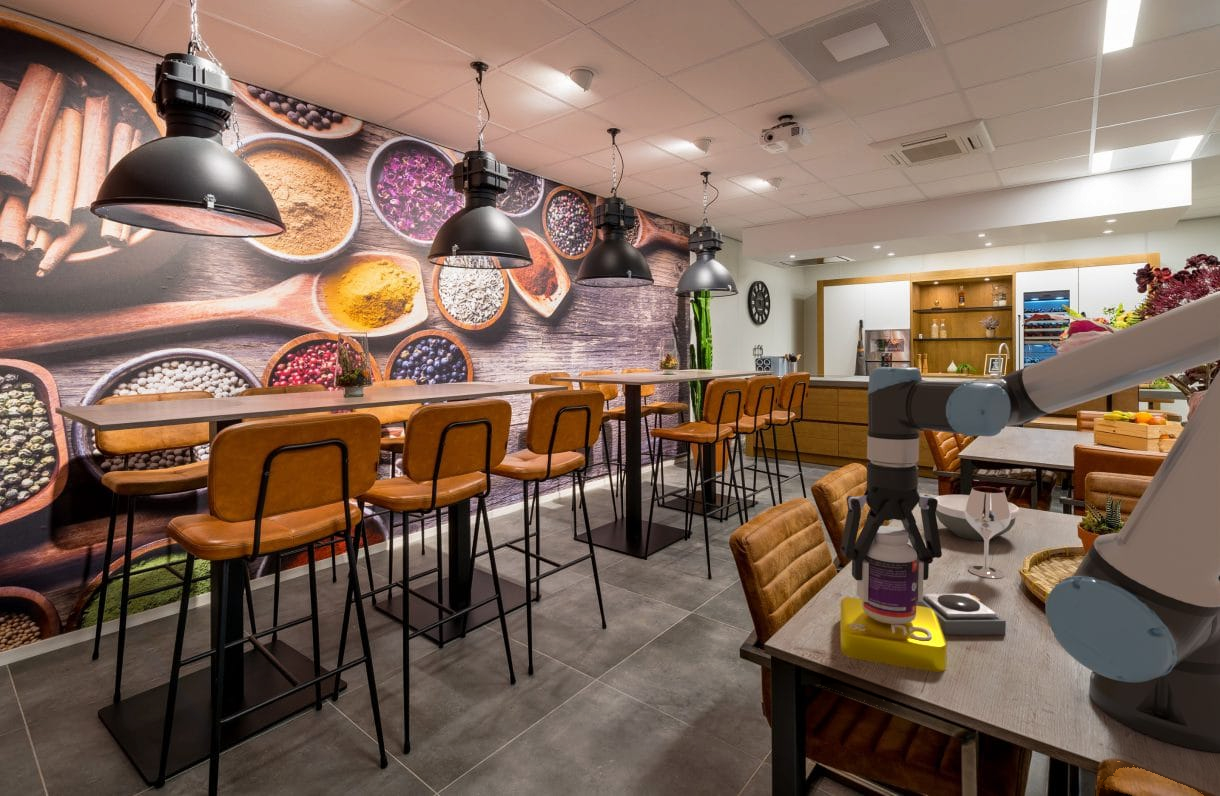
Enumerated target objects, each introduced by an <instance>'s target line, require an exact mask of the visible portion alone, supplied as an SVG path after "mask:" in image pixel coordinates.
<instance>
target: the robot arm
mask: <svg viewBox="0 0 1220 796" xmlns="http://www.w3.org/2000/svg"><path fill="white" fill-rule="evenodd" d="M1217 361H1220V290H1218V291H1216V292H1214V293H1211V294H1208V295H1205V296H1203V297H1200V298H1198V299H1195V300H1193V301H1191V302H1188V303H1185V304H1182V305H1181V306H1178V307H1175V308H1172V309H1169V310H1167V311H1165V312H1163V313H1160V314H1157V315H1155V316H1152V317H1150V318H1147V319H1144V320H1143V321H1142V320H1141V321H1140V322H1137V323H1134V324H1132V325H1130V326H1127V327H1123V328H1121V329H1119V330H1117V331H1115V332H1112V333H1109V334H1106V335H1104V336H1102V337H1098V338H1096V339H1095V340H1092V341H1089V342H1087V343H1084V344H1081V345H1078V346H1076V347H1073V348H1071V349H1068V350H1066V351H1062V352H1061V353H1059V354H1055V355H1054V356H1051V357H1048V358H1045V359H1043V360H1040V361H1037V362H1035V363H1034V364H1033V363H1032V364H1030V365H1028V366H1025V367H1024V368H1021V369H1018V370H1014V371H1013V372H1010V373H1008V374H1004V375H1003V376H1000V377H996V378H988V379H985V378H984V379H977V380H976V379H975V380H966V381H965V380H964V381H962V380H961V381H939V380H938V381H932V380H931V381H929V380H923V377H922V373H921V370H920V369H919V368H918V367H914V366H913V367H912V366H910V367H909V366H880V367H879V366H878V367H875V368H873V369H872V370H871V371H870V373H869V375H868V388H867V389H868V390H867V393H866V396H867V419H868V420H867V421H868V422H867V424H868V425H867V426H868V427H867V428H868V429H867V435H866V437H867V438H866V439H867V440H866V441H867V442H866V443H867V444H866V445H867V446H866V458H867V459H868V460H869V461H868V462H867V463H866V489H865V491H864V494H863V495H860V496H859V495H858V496H852V495H848V496H847V497H846V505H847V513H846V519H845V522H844V523H845V524H844V530H843V533H842V538H841V539H842V540H841V542H840V543H841V544H840V548H839V551H840V553H841V554H842V555H843V556H844V557H846V559H848V560H849V559H850V560H851V575H852V578H854V580H855V581H856V595H857V598H860V599H861V600H862V601H863V602H868V580H869V563H868V562H867V561H866V560H865V557H866V555H867V553H868V550H869V548H870V546H871V544H872V542H873V540H874V538H875V536H876V534H877V531H878V529H879V527H880V526H884V522H885V521H891V520H897V521H900V522H901V523H902V526H903V529H904V530H906V531H908V533H909V540H908V541H909V542H910V544H911V546H912V547H913V548H914V549H915V551H916V553H917V589H916V600H917V601H918V602H923V596H924V581H926V580H927V581H928V578H929V575H930V574H929V571H930V569H929V568H930V567H929V566H930V565H929V564H932V563H933V562H934V559H935V558H936V559H939V558H941V557H942V556H943V553H942V552H943V551H942V546H941V544H942V543H941V539H940V534H939V533H940V532H939V527H938V526H939V525H938V522H937V521H938V520H937V519H938V518H937V516H936V509H937V504H938V501H937V499H935V497H932V496H931V495H929V494H924V495H920V494H919V492H918V486H919V467H918V465H917V463H918V462H920V461H919V460H920V457H919V455H920V430H924V431H935V432H942V433H949V434H957V435H963V436H965V437H975V436H976V437H986V438H987V437H990V438H991V437H995V436H997V435H999V434H1000V433H1001V431H1002V430H1003V429H1005V428H1006V427H1018V426H1022V425H1025V424H1029V423H1031V422H1034V421H1036V420H1037V419H1038V418H1041V417H1043V416H1046V415H1049V414H1052V413H1055V412H1058V411H1061V410H1064V409H1067V408H1071V407H1075V406H1077V405H1081V404H1084V403H1087V402H1090V401H1093V400H1096V399H1097V400H1098V398H1102V397H1106V396H1109V395H1113V394H1116V393H1119V392H1122V391H1125V390H1127V389H1131V388H1134V387H1138V386H1141V385H1144V384H1148V383H1150V382H1154V381H1156V380H1160V379H1163V378H1167V377H1169V376H1173V375H1175V374H1179V373H1181V372H1185V371H1188V370H1191V369H1192V370H1193V369H1194V368H1198V367H1201V366H1203V365H1207V364H1211V363H1214V362H1217ZM865 504H866V505H867V506H868V507H869V511H868V513H867V515H866V520H865V522H864V524H863V526H862V528H861V531H860V533H859V535H858V531H859V526H860V522H861V518H862V517H861V516H862V511H863V510H864V506H865ZM917 505H918V507H919V508H920V514H921V521H922V528H923V534H924V539H923V537H922V533H920V530H919V528H918V525H917V520H916V518H915V516H914V513H913V510H914V509H915V508H916V506H917ZM924 540H925V542H924ZM1044 607H1045V609H1044V611H1045V616H1046V617H1045V619H1046V622H1047V623H1048V626H1049V627H1050V628H1051V631H1052V633H1053V637H1054V638H1055V640H1056V641H1057V642H1058V643H1059V645H1060V646H1061V648H1062V649H1063V650H1064V651H1065V652H1066V653H1067V654H1069V656H1070V657H1071V658H1072V659H1074V661H1076V662H1078V663H1079V664H1081V665H1082V666H1083V667H1085V668H1086V669H1088V670H1090V671H1092V672H1091V673H1090V676H1089V691H1088V692H1089V696H1090V699H1091V700H1092V701H1093V702H1094V703H1095V704H1096V706H1097V707H1098V708H1099V709H1101V710H1102V711H1103V712H1105V713H1106V714H1107V715H1108V716H1110V717H1111V718H1113V719H1115V721H1117V722H1120V723H1121V724H1124V725H1125V726H1127V727H1129V728H1131V729H1133V730H1135V731H1138V732H1139V733H1142V734H1144V735H1147V736H1148V737H1151V738H1155V739H1157V740H1161V741H1164V742H1166V743H1170V744H1172V745H1177V746H1180V747H1185V748H1187V749H1193V750H1199V751H1204V752H1213V753H1214V752H1215V753H1220V369H1219V371H1218V372H1217V374H1216V375H1215V376H1214V379H1213V381H1212V382H1211V384H1210V385H1209V387H1208V389H1207V390H1206V391H1205V393H1204V395H1203V396H1202V398H1201V399H1200V401H1199V403H1198V405H1197V406H1196V407H1195V409H1194V411H1193V413H1192V414H1191V415H1190V417H1189V419H1188V420H1187V422H1186V424H1185V426H1184V428H1182V430H1181V432H1180V433H1179V435H1178V436H1177V439H1176V440H1175V442H1174V444H1173V445H1172V447H1171V448H1170V449H1169V451H1168V452H1167V455H1166V456H1165V458H1164V459H1163V461H1162V463H1161V465H1160V466H1159V467H1158V470H1157V471H1156V473H1155V474H1154V476H1153V477H1152V479H1151V481H1150V482H1149V484H1148V485H1147V487H1146V489H1145V491H1144V492H1143V494H1142V495H1141V497H1140V499H1139V500H1138V502H1137V504H1136V505H1135V507H1134V508H1133V510H1132V511H1131V513H1130V515H1129V517H1128V518H1127V519H1126V521H1125V523H1124V524H1123V526H1122V528H1121V529H1120V530H1119V532H1114V533H1113V532H1112V533H1107V534H1100V535H1099V536H1097V537H1096V538H1095V540H1093V543H1092V544H1091V546H1090V547H1089V549H1088V550H1087V553H1086V554H1085V555H1084V557H1083V559H1082V561H1081V562H1080V564H1079V565H1078V567H1077V569H1076V570H1075V572H1074V573H1073V574H1072V575H1071V576H1068V577H1066V578H1064V579H1062V580H1060V581H1059V582H1058V583H1057V584H1055V586H1054V587H1053V588H1052V589H1051V591H1050V592H1049V593H1048V595H1047V598H1046V601H1045V606H1044Z"/></svg>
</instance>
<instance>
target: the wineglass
mask: <svg viewBox="0 0 1220 796" xmlns="http://www.w3.org/2000/svg"><path fill="white" fill-rule="evenodd" d="M969 495H970V496H969V499H968V502H967V505H966V508H965V518H966V520H967V522H968V523H969V524H970V526H971V527H973V528H974V529H975V530H976V531H977V532H978V533H979V534H980V535H981V536H982V537H983V539H984V540H983V541H984V542H983V543H984V544H983V565H972V566H969V567H968V572H969V573H971V574H973V575H974V576H978V577H980V578H986V579H988V578H989V579H1001V578H1004V576H1005V573H1004V572H1002V571H1001V570H1000V569H997V568H995V567H994V568H993V567H990V566H989V546H990V545H989V543H990V540H992V539H991V538H992V537H993V536H994V535H996V534H998V533H999V532H1001V531H1003V530H1004V529H1005V528H1006V527H1007V526H1008V525H1009V523H1010V521H1011V514H1010V510H1009V506H1008V502H1009V501H1008V500H1007V495H1006V492H1005V490H1003V489H1001V488H996V487H991V486H974V487H972V488H971V491H970V493H969Z"/></svg>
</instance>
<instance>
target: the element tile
mask: <svg viewBox="0 0 1220 796" xmlns="http://www.w3.org/2000/svg"><path fill="white" fill-rule="evenodd" d="M839 647H840V650H839V651H840V652H841V651H842V652H841V653H842V655H844V654H845V655H844V656H846V657H848V656H849V657H848V658H851V659H856V660H861V661H867V662H872V663H873V662H874V663H878V664H879V663H880V664H887V665H891V666H892V665H893V666H896V667H904V668H910V669H915V670H921V671H928V672H936V673H938V672H939V673H942V672H945V671H946V670H947V667H948V665H947V661H948V644H947V641H946V638H945V635H944V634H943V632H942V629H941V626H940V623H939V621H938V618H937V615H936V613H935V612H934V611H933V610H932V609H931V608H928V607H922V606H916V617H915V619H914V620H913V621H911V622H909V623H905V624H889V623H884V622H880V621H877V620H875V619H873V618H871V617H870V616H868V615H867V614H866V613H865V612H864V610H863V607H862V600H861V599H860V598H859V597H851V596H845V597H844V598H842V599H841V600H840V646H839Z"/></svg>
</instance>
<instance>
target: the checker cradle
mask: <svg viewBox="0 0 1220 796" xmlns="http://www.w3.org/2000/svg"><path fill="white" fill-rule="evenodd" d="M970 595H971V594H970ZM971 596H972V597H974V598H975V599H977V600H978V601H979V602H981V603H982V601H981V599H980V598H978V597H977V596H976V595H971ZM916 606H922V607H928V608H931V609H932V610H933V611H934V612H935V613H936V615H937V618H938V621H939V623H940V626H941V629H942V632H943V635H944V636H1006V627H1007V625H1006V624H1007V621H1006V620H1005V619H1004V618H1002V617H1001V616H1000V615H998V614H997V613H996V619H985V620H946V619H945V618H944V617H943V616H942V615H941V614H939V613H938V612H937V611H936V610H935V609H934V608H932V607H931V606H930V605H929V604H928V603H926V602H925V601H924V595H923V602H918V601H917V600H916Z"/></svg>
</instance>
